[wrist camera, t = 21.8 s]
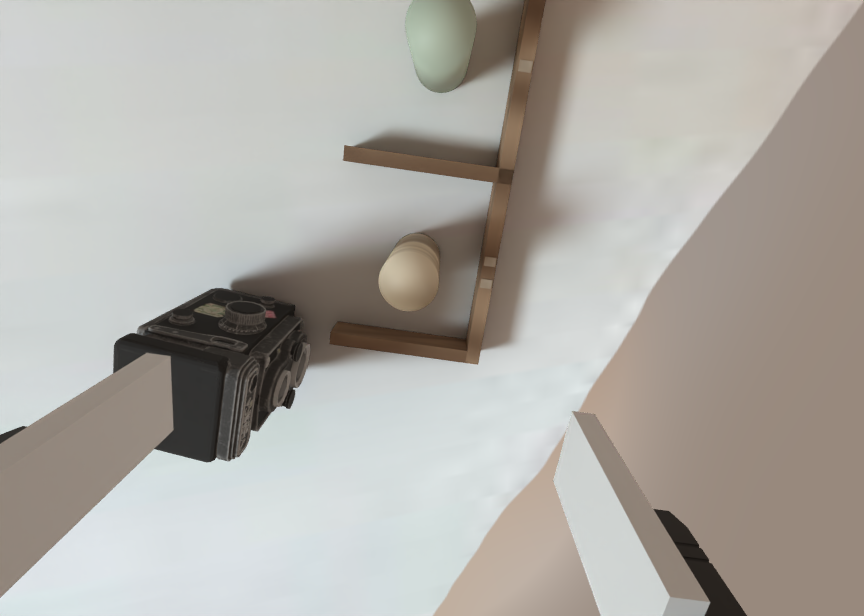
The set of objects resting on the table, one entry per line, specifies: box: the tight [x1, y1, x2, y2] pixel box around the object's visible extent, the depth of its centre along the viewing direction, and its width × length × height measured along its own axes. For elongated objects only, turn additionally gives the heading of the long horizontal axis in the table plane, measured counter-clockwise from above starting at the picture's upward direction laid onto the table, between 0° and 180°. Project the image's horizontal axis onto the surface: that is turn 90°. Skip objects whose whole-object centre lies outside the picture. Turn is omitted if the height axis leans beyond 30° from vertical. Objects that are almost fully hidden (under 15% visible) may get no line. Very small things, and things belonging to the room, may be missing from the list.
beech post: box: [379, 233, 440, 311], centre depth 37 cm, size 4×4×10 cm
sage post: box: [405, 0, 477, 93], centre depth 32 cm, size 4×4×10 cm
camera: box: [113, 288, 310, 462], centre depth 38 cm, size 10×11×15 cm
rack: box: [330, 0, 546, 364], centre depth 38 cm, size 34×14×3 cm, turn 172°
